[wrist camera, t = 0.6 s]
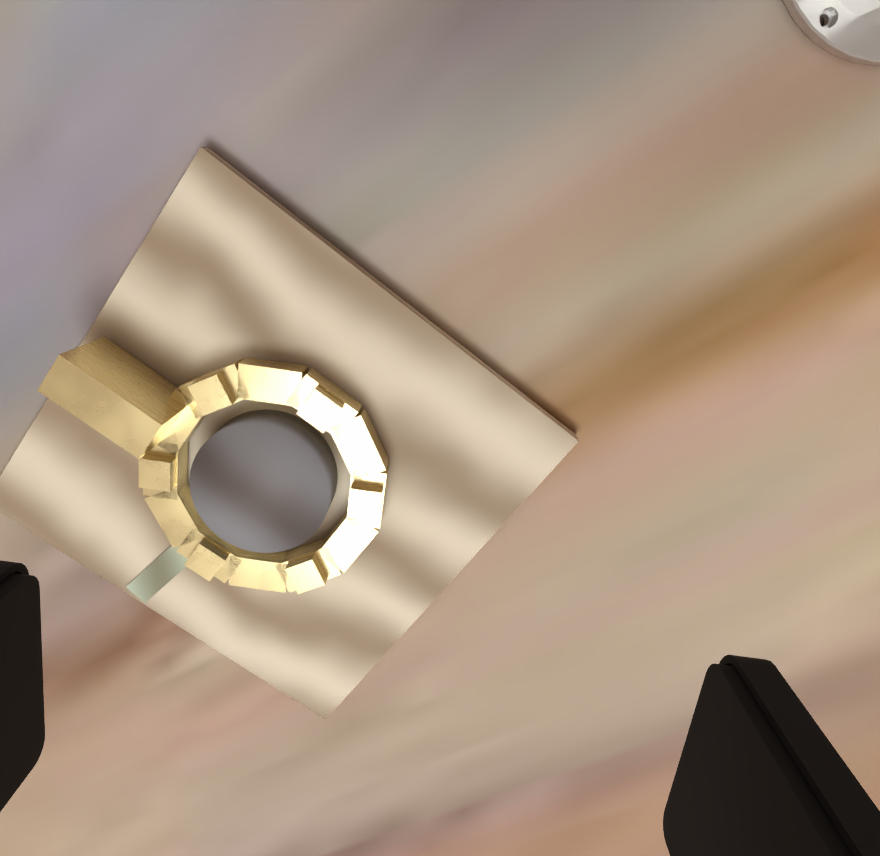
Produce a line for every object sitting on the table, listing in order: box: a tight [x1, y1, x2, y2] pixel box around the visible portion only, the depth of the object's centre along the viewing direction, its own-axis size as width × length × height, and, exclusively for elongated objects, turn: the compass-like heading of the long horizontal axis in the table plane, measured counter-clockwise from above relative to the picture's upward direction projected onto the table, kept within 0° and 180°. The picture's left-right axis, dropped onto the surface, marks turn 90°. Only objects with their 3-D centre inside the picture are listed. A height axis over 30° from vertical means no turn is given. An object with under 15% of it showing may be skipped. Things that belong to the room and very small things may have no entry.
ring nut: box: [38, 337, 389, 594], centre depth 39 cm, size 14×19×5 cm
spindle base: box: [0, 147, 578, 719], centre depth 41 cm, size 26×26×4 cm
